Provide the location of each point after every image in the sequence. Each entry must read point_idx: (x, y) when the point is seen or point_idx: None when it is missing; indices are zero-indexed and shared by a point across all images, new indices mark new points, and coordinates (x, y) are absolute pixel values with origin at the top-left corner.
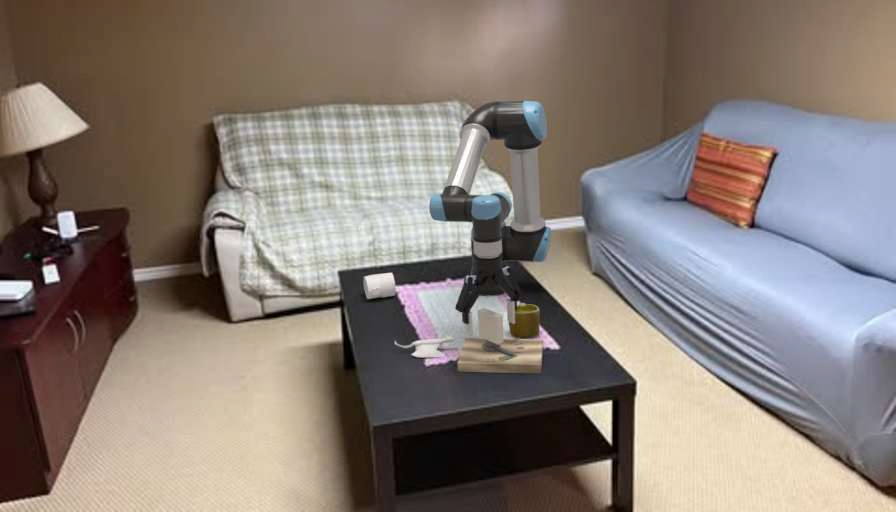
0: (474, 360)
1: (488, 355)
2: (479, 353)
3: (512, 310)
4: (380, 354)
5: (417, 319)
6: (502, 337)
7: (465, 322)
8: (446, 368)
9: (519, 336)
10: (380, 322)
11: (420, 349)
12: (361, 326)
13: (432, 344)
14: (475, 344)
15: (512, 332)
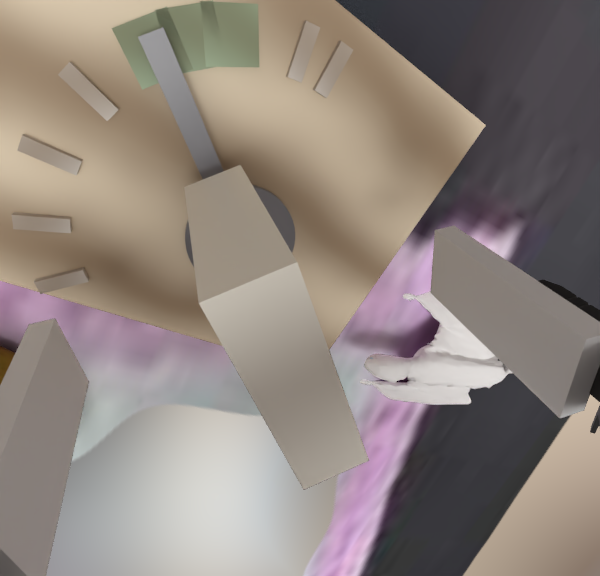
0: (400, 110)
1: (299, 139)
2: (332, 189)
3: (16, 417)
4: None
5: (353, 538)
6: (194, 196)
7: (557, 287)
8: (475, 173)
9: (11, 355)
10: (446, 528)
11: None
12: (495, 512)
13: (452, 354)
14: None
15: None
